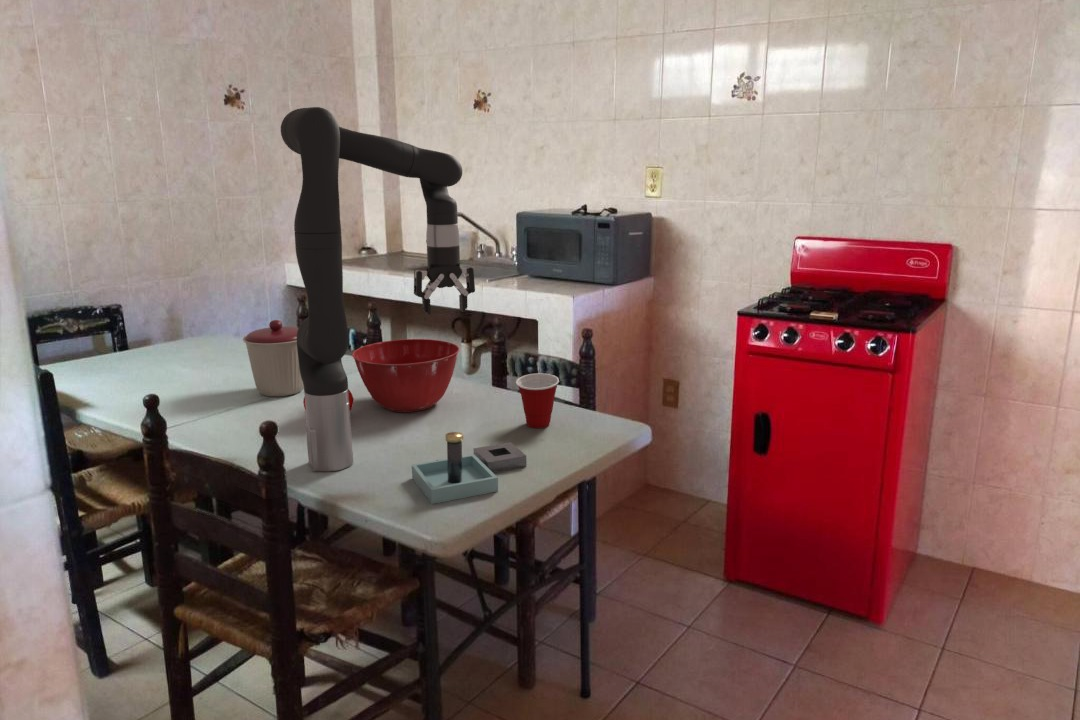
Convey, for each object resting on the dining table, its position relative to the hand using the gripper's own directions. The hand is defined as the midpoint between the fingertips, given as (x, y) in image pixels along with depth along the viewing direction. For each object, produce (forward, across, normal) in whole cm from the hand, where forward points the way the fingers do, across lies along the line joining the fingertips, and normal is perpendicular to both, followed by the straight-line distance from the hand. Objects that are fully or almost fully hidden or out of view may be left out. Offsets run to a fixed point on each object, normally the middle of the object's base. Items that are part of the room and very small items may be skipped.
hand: (445, 312), depth 186 cm
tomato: (+30, -25, +22) cm, 45 cm away
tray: (+30, -9, -30) cm, 43 cm away
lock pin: (+29, -9, -30) cm, 43 cm away
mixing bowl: (+30, -3, +26) cm, 40 cm away
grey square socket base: (+30, +4, -23) cm, 38 cm away
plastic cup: (+30, +22, -4) cm, 38 cm away
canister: (+30, -33, +53) cm, 69 cm away
